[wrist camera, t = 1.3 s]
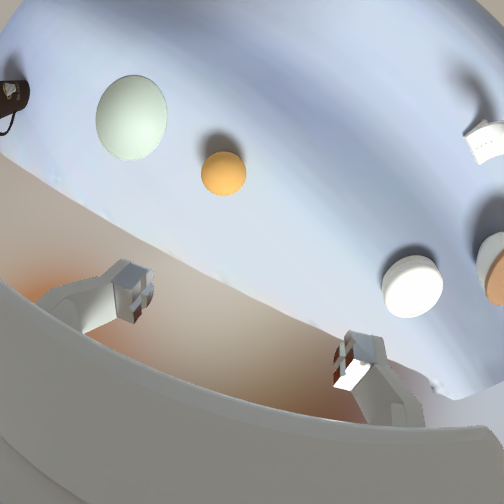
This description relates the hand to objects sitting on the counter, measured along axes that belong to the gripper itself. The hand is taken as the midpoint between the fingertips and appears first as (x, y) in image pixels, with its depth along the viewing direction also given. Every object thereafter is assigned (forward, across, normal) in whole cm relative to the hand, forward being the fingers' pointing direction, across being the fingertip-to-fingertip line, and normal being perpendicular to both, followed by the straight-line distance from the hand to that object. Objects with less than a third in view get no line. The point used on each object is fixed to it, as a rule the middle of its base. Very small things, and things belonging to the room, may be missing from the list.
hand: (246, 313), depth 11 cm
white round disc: (+28, -23, +10) cm, 38 cm away
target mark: (+26, +24, -3) cm, 36 cm away
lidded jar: (+28, -35, 0) cm, 45 cm away
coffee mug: (+26, +54, -6) cm, 60 cm away
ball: (+24, +8, +2) cm, 26 cm away
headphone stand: (+28, -24, -14) cm, 39 cm away
